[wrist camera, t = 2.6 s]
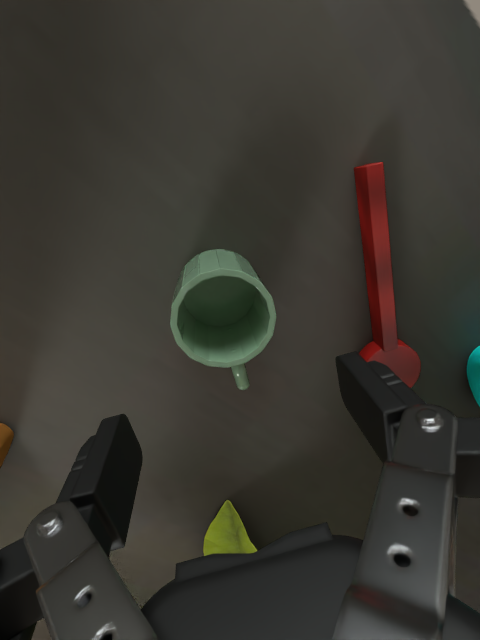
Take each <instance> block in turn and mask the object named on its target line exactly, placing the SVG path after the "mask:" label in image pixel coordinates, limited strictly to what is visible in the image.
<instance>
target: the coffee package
mask: <svg viewBox="0 0 480 640" xmlns="http://www.w3.org/2000/svg"><path fill="white" fill-rule="evenodd" d="M13 437H14V433H13V431H12V430H11V429H10V428H9V427H8V426H7V425H5V424H2V423H0V468H1V466H2V464H3V461H4V459H5V457H6V455H7V453H8V451H9V448H10V446H11V443H12V440H13Z"/></svg>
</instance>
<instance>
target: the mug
mask: <svg viewBox="0 0 480 640" xmlns="http://www.w3.org/2000/svg"><path fill="white" fill-rule="evenodd" d="M275 322H276V311H275V307H274V303H273V298H272V296H271V295H270V293H269V291H268V290H267V288H266V287H265V285H264V283H263V282H262V280H261V279H260V277H259V276H258V274H257V272H256V271H255V270H254V268H253V267H252V265H251V264H250V263H249V262H248V261H247V260H246V259H245V258H244V257H242V256H241V255H239V254H237V253H235V252H232V251H229V250H223V249H214V250H208V251H205V252H202V253H200V254H198V255H197V256H195V257H194V258H192V259H191V260H190V261H189V262H188V263H187V264H186V265H185V267H184V268H183V270H182V272H181V274H180V276H179V278H178V281H177V286H176V290H175V294H174V298H173V303H172V308H171V320H170V326H171V329H172V332H173V335H174V338H175V341H176V343H177V345H178V346H179V347H180V348H181V349H182V350H183V351H184V352H185V353H186V354H187V355H188V356H189V357H190V358H191V359H193V360H196V361H198V362H200V363H202V364H204V365H206V366H212V367H225V368H227V367H231V368H232V372H233V375H234V378H235V382H236V385H237V387H238V389H240V390H246V389H247V388H248V387H249V379H248V375H247V371H246V366H245V363H246V362H248V361H249V360H251V359H252V358H253V357H255V356H256V355H258V354H259V353H260V352H262V351H263V349H264V348H265V346H266V345H267V343H268V342H269V340H270V339H271V337H272V336H273V332H274V327H275Z"/></svg>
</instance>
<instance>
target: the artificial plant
mask: <svg viewBox="0 0 480 640" xmlns="http://www.w3.org/2000/svg"><path fill="white" fill-rule="evenodd" d="M256 551H258V550H257V549H256V548H255V547H254V545H253V544H252V543H251V541H250V539H249V537H248V535H247V532H246V530H245V528H244V525H243V523H242V521H241V519H240V517H239V515H238V513H237V511H236V510H235V508H234V507H233V505H232V503H231V502H230V501H229V500H226V501H225V503H224V504H223V506H222V507H221V509H220V510H219V512H218V514H217V516H216V518H215V519H214V520H213V521H212V523H211V524H210V526H209V528H208V531H207V533H206V535H205V538H204V547H203V552H204V556H206V555H210V554H213V553H254V552H256Z"/></svg>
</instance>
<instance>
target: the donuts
mask: <svg viewBox="0 0 480 640" xmlns="http://www.w3.org/2000/svg"><path fill="white" fill-rule="evenodd" d="M467 378H468V382H469V386H470V389H471V391H472V393H473V396H474V398H475V400H476V402H477V404H478V405H479V407H480V346H478V347H477V348H476V349H474V351H473V352H472V353H471V355H470V356H469V359H468V363H467Z"/></svg>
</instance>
